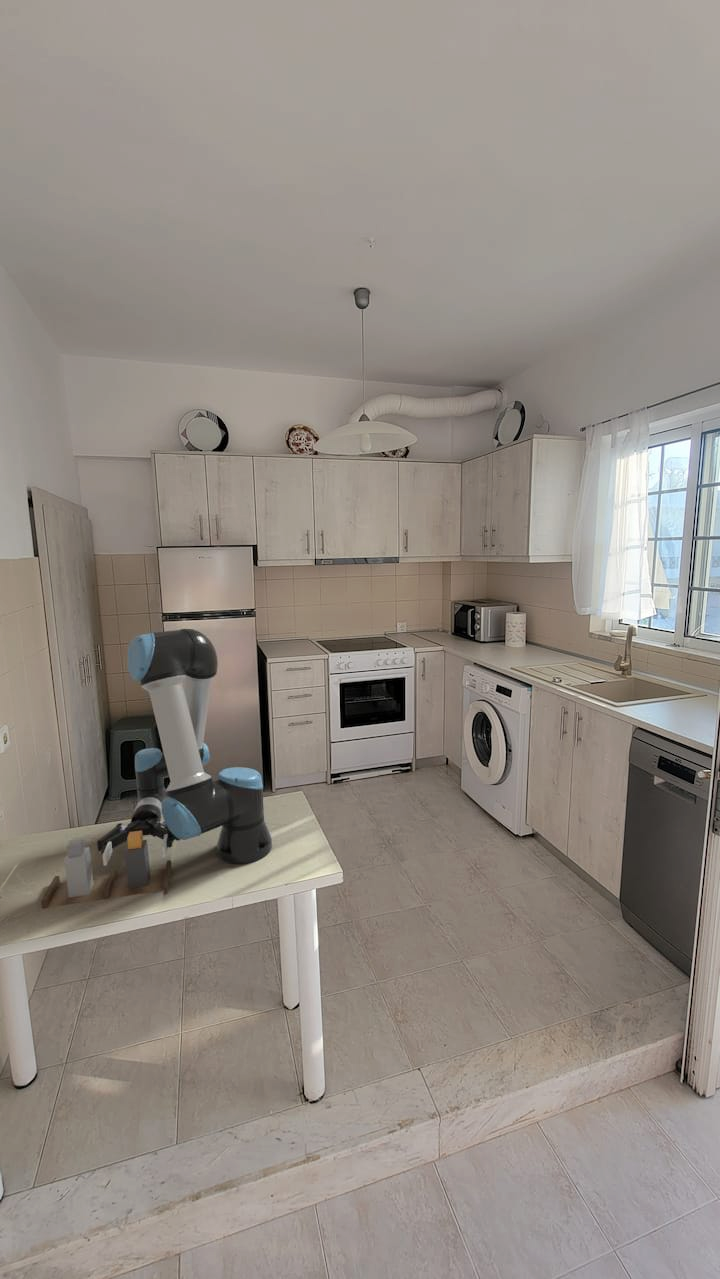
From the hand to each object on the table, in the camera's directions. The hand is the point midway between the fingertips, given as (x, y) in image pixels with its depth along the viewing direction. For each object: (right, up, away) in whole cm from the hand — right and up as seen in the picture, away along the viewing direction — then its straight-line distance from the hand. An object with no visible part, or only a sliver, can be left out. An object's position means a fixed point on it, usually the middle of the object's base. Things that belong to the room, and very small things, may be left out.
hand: (134, 856), depth 135 cm
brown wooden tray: (-7, -9, +3) cm, 12 cm away
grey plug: (-13, -9, +1) cm, 16 cm away
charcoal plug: (0, -8, +4) cm, 9 cm away
